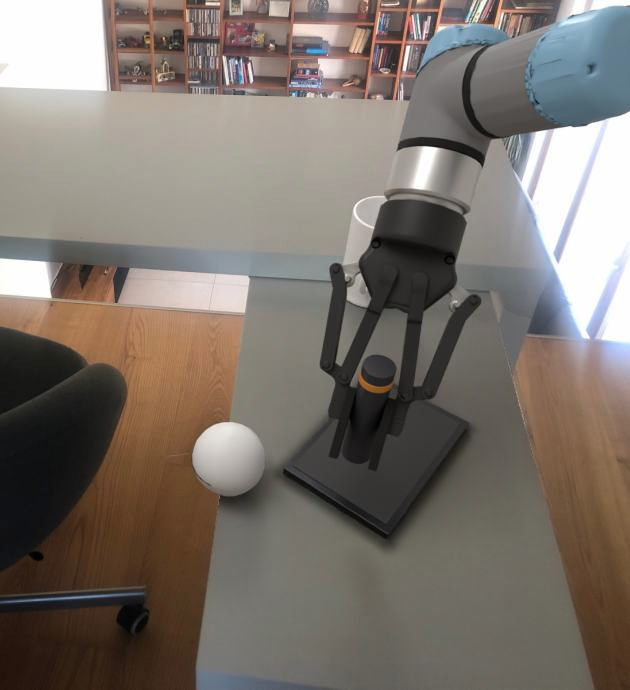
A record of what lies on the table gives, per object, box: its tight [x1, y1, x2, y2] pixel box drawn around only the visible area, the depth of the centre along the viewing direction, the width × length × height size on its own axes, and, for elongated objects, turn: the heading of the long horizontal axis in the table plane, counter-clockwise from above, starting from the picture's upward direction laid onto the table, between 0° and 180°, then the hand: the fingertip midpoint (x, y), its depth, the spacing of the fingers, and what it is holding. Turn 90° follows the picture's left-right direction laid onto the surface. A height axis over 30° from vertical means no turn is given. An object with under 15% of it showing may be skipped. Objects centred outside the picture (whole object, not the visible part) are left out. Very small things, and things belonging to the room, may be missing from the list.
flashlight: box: [342, 354, 398, 464], centre depth 63 cm, size 3×3×12 cm
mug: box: [342, 195, 388, 309], centre depth 88 cm, size 12×8×12 cm
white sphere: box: [165, 421, 267, 497], centre depth 69 cm, size 10×7×7 cm
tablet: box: [282, 382, 470, 540], centre depth 74 cm, size 12×18×1 cm, turn 139°
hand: (352, 461), depth 62 cm, fingers closed on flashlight, 3 cm apart
